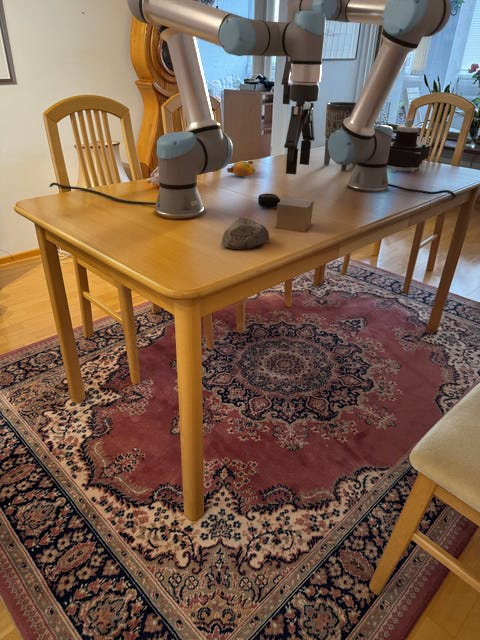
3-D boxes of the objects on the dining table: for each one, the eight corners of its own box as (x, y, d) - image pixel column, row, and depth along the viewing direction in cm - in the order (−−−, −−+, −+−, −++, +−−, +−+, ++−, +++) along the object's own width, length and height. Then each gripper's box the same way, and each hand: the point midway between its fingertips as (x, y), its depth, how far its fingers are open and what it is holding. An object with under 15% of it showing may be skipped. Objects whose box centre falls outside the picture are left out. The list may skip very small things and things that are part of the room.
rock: (255, 233, 128) (256, 211, 124) (276, 242, 122) (278, 219, 119) (217, 244, 120) (217, 220, 117) (239, 254, 115) (239, 230, 111)
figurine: (184, 183, 177) (182, 149, 170) (157, 191, 166) (154, 155, 160) (168, 180, 181) (166, 147, 174) (141, 188, 170) (138, 152, 163)
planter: (313, 167, 208) (319, 103, 195) (331, 160, 222) (338, 101, 209) (353, 173, 199) (362, 107, 185) (369, 166, 213) (379, 104, 199)
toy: (224, 169, 185) (230, 160, 198) (230, 184, 188) (235, 175, 200) (250, 160, 182) (254, 152, 194) (255, 175, 185) (259, 167, 197)
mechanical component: (376, 119, 196) (405, 114, 216) (368, 169, 207) (396, 160, 227) (425, 124, 184) (451, 118, 204) (414, 176, 195) (439, 166, 215)
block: (283, 220, 140) (284, 197, 136) (311, 224, 137) (313, 201, 133) (275, 227, 134) (277, 203, 130) (304, 231, 131) (307, 207, 127)
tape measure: (259, 210, 148) (260, 198, 147) (256, 204, 154) (256, 193, 152) (280, 209, 149) (281, 198, 147) (275, 203, 155) (276, 192, 153)
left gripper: (303, 81, 128) (297, 159, 138) (276, 85, 107) (270, 176, 118) (330, 82, 125) (321, 162, 136) (306, 86, 105) (298, 179, 116)
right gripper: (295, 40, 179) (291, 100, 190) (275, 38, 159) (272, 104, 170) (313, 41, 177) (308, 101, 188) (296, 38, 157) (291, 105, 168)
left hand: (297, 169), depth 127 cm, fingers open, 13 cm apart
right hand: (291, 103), depth 179 cm, fingers open, 13 cm apart
